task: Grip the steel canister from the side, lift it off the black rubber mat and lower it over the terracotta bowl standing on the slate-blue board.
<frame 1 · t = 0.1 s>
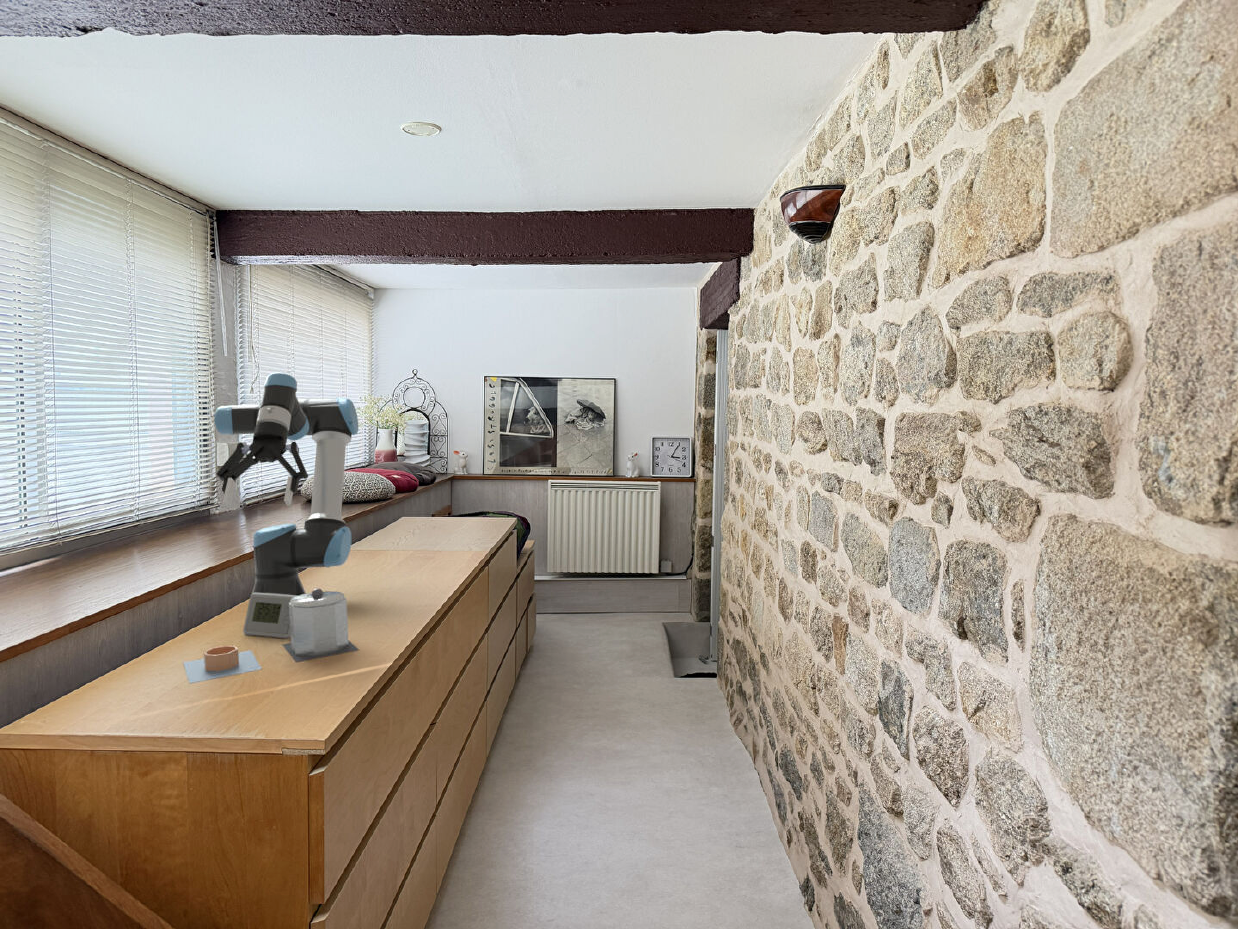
hand: (257, 504, 175), 36 cm above the table, tool tilted 35°, fingers open, 13 cm apart
terracotta bowl: (221, 665, 168), point 1 cm above the table, touching blue board
steel canister: (320, 647, 180), point 1 cm above the table, touching black mat
black mat: (320, 649, 180), on the table
digital clock: (274, 637, 192), on the table
blue board: (222, 668, 168), on the table
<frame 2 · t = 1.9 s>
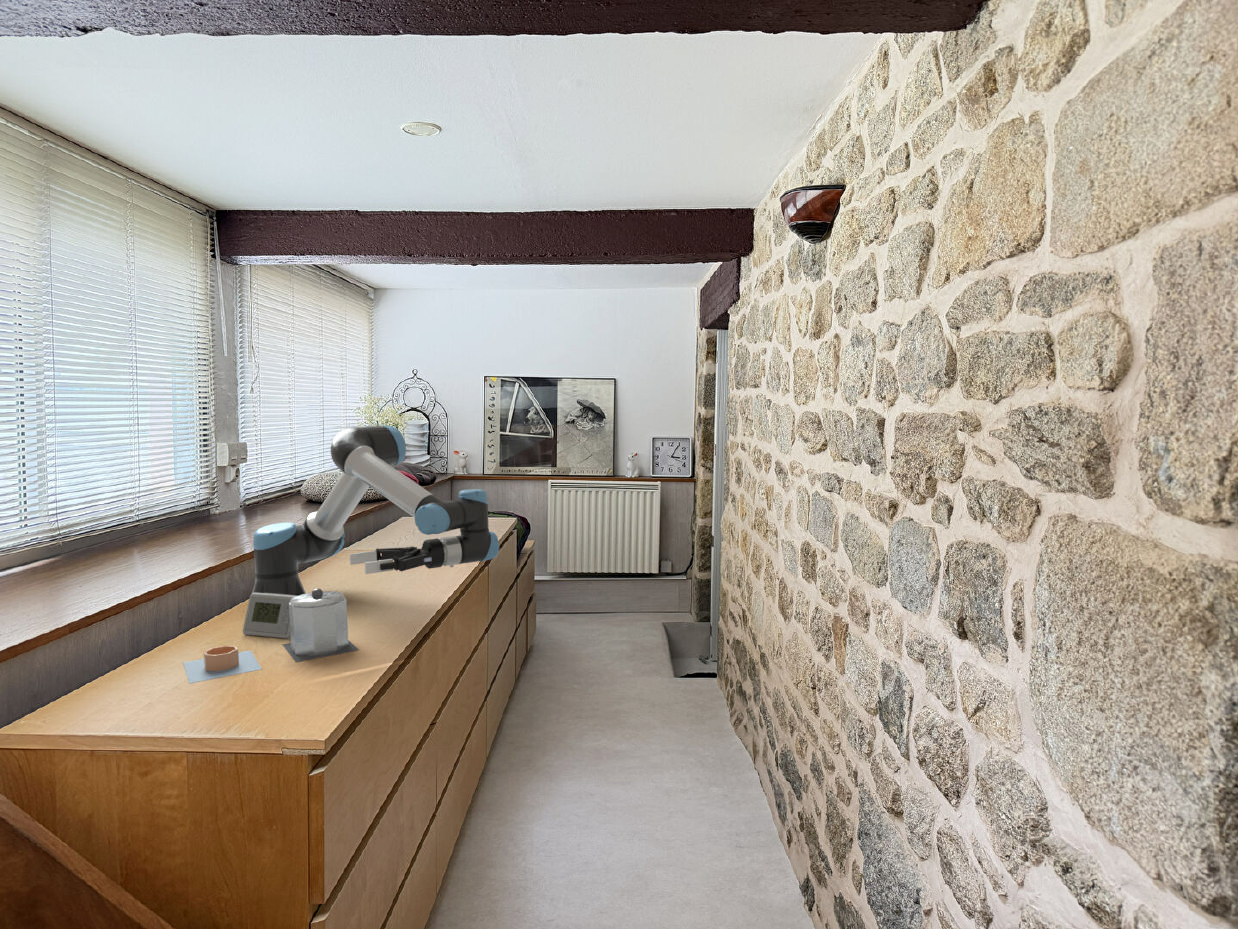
hand: (357, 563, 184), 20 cm above the table, tool horizontal, fingers open, 13 cm apart
nothing on the table moved.
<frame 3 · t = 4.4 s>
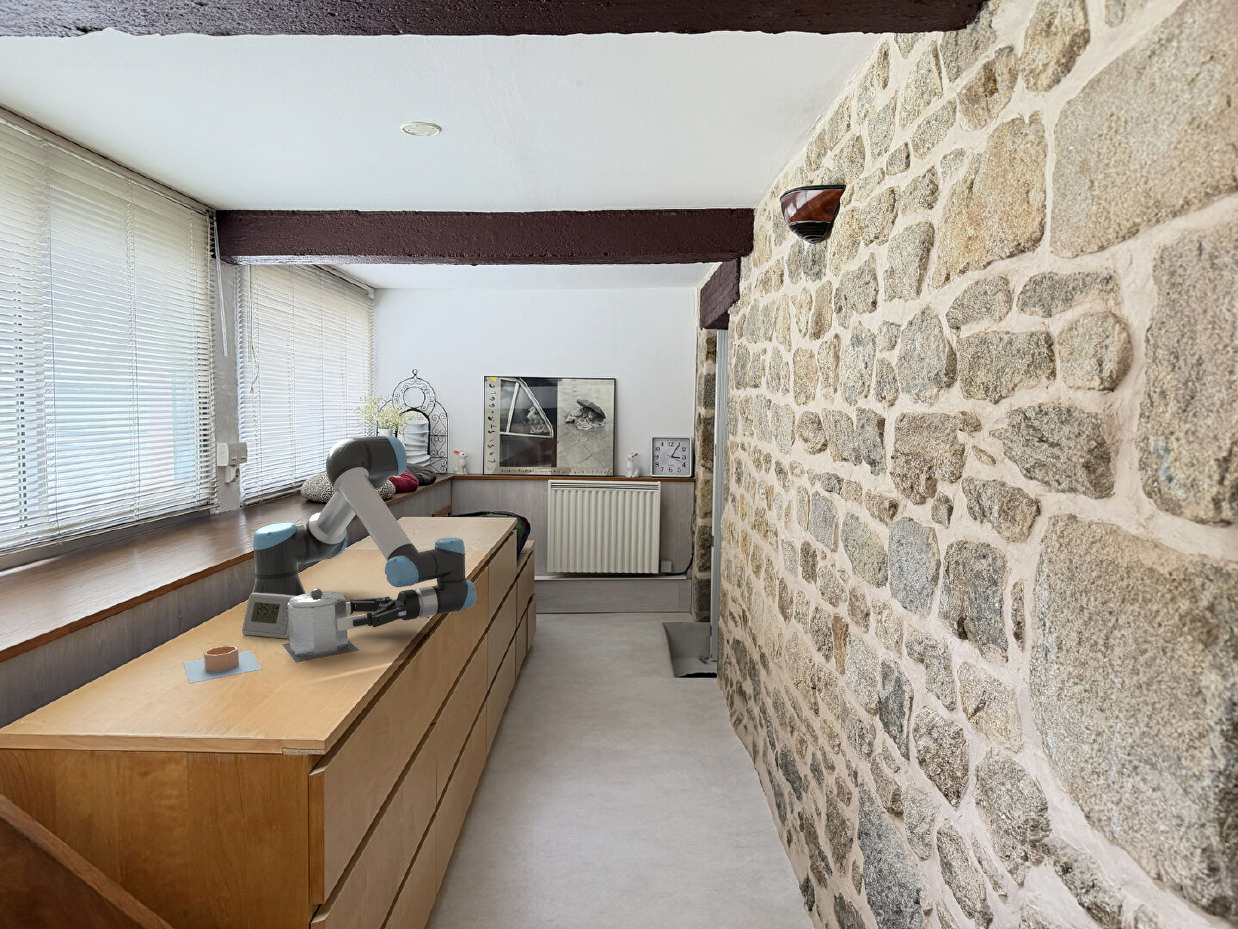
hand: (329, 618, 180), 7 cm above the table, tool horizontal, fingers open, 13 cm apart
steel canister: (319, 647, 180), point 1 cm above the table, touching black mat, gripper
everything else where it was.
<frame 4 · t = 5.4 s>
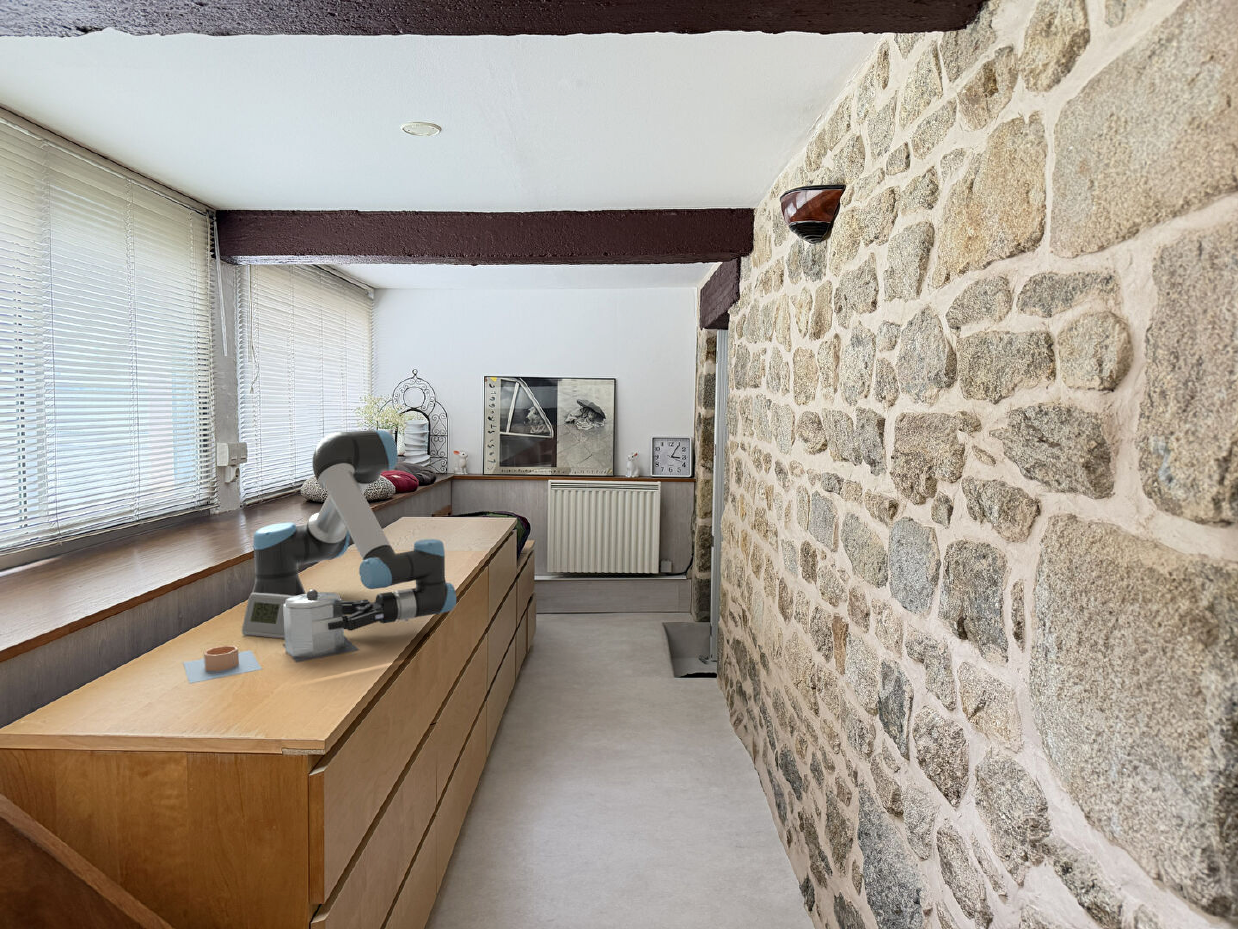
hand: (305, 621, 177), 7 cm above the table, tool horizontal, fingers open, 13 cm apart
steel canister: (315, 648, 179), point 1 cm above the table, touching gripper
everything else where it was.
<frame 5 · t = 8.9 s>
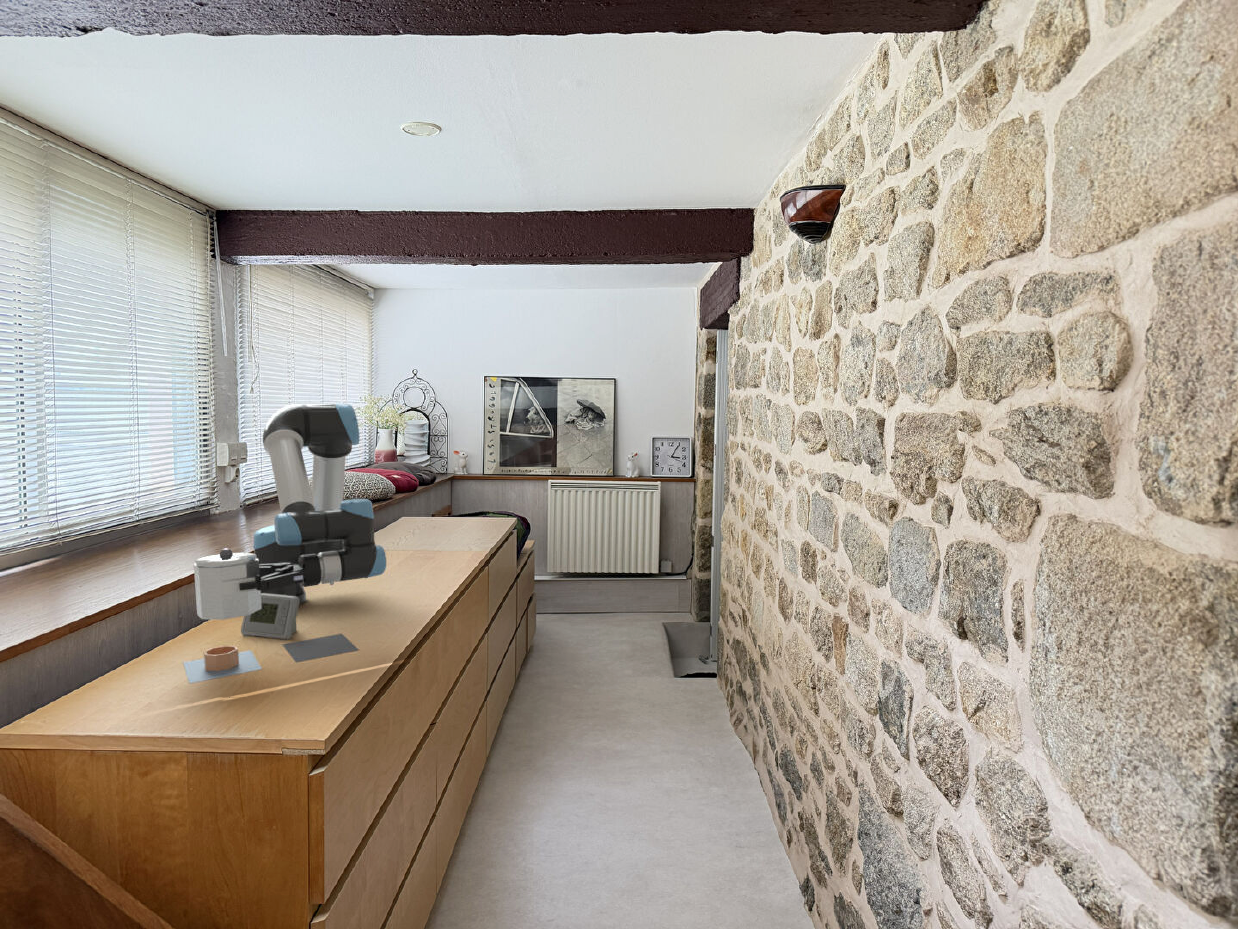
hand: (216, 582, 166), 20 cm above the table, tool horizontal, fingers closed on steel canister, 12 cm apart
steel canister: (229, 611, 167), point 13 cm above the table, touching gripper
everything else where it was.
when the fingers open (9 cm above the table, at t = 12.0 s): steel canister drops 1 cm, resting on blue board.
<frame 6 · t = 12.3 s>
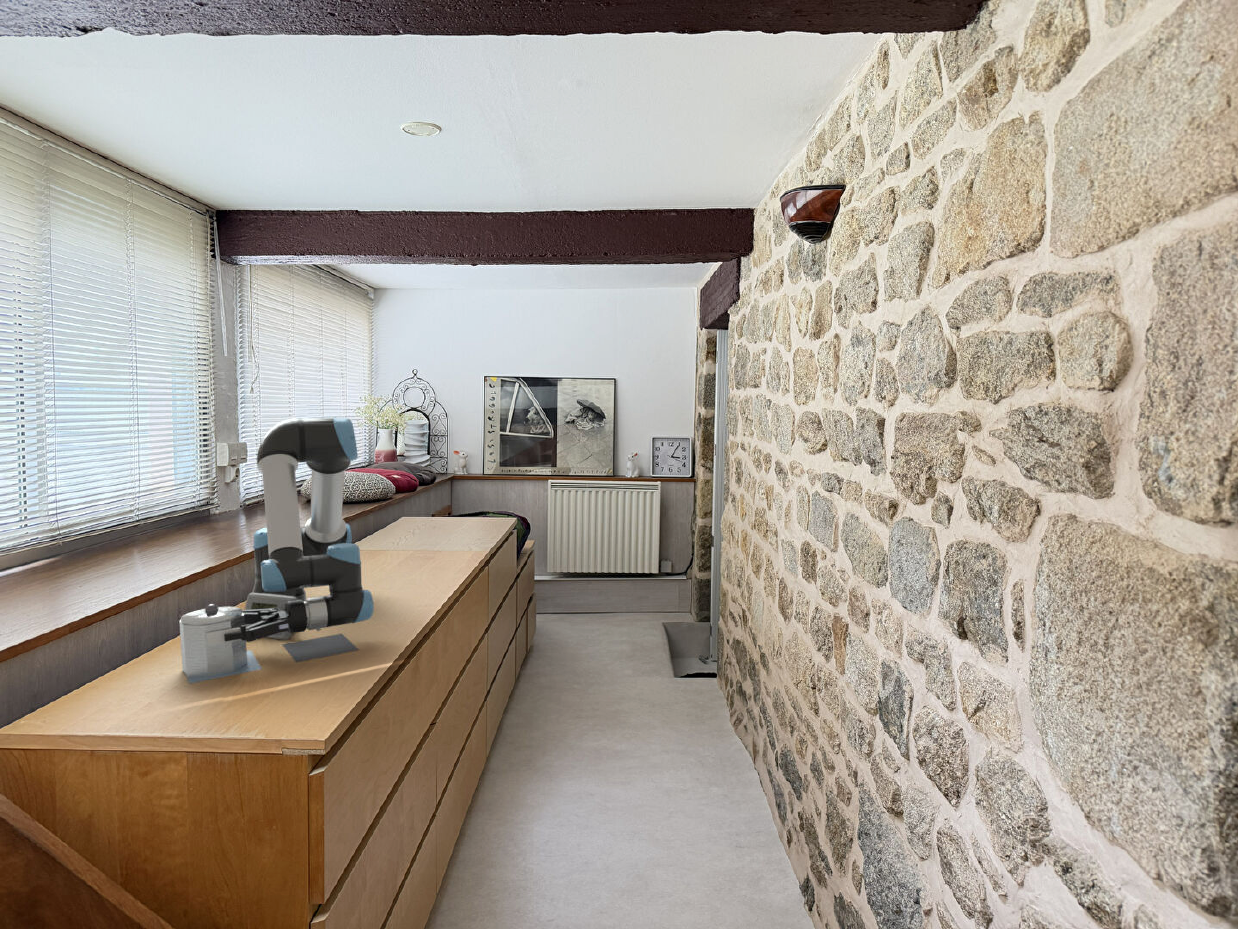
hand: (202, 631, 165), 9 cm above the table, tool horizontal, fingers open, 13 cm apart
steel canister: (215, 667, 167), point 1 cm above the table, touching blue board
everything else where it was.
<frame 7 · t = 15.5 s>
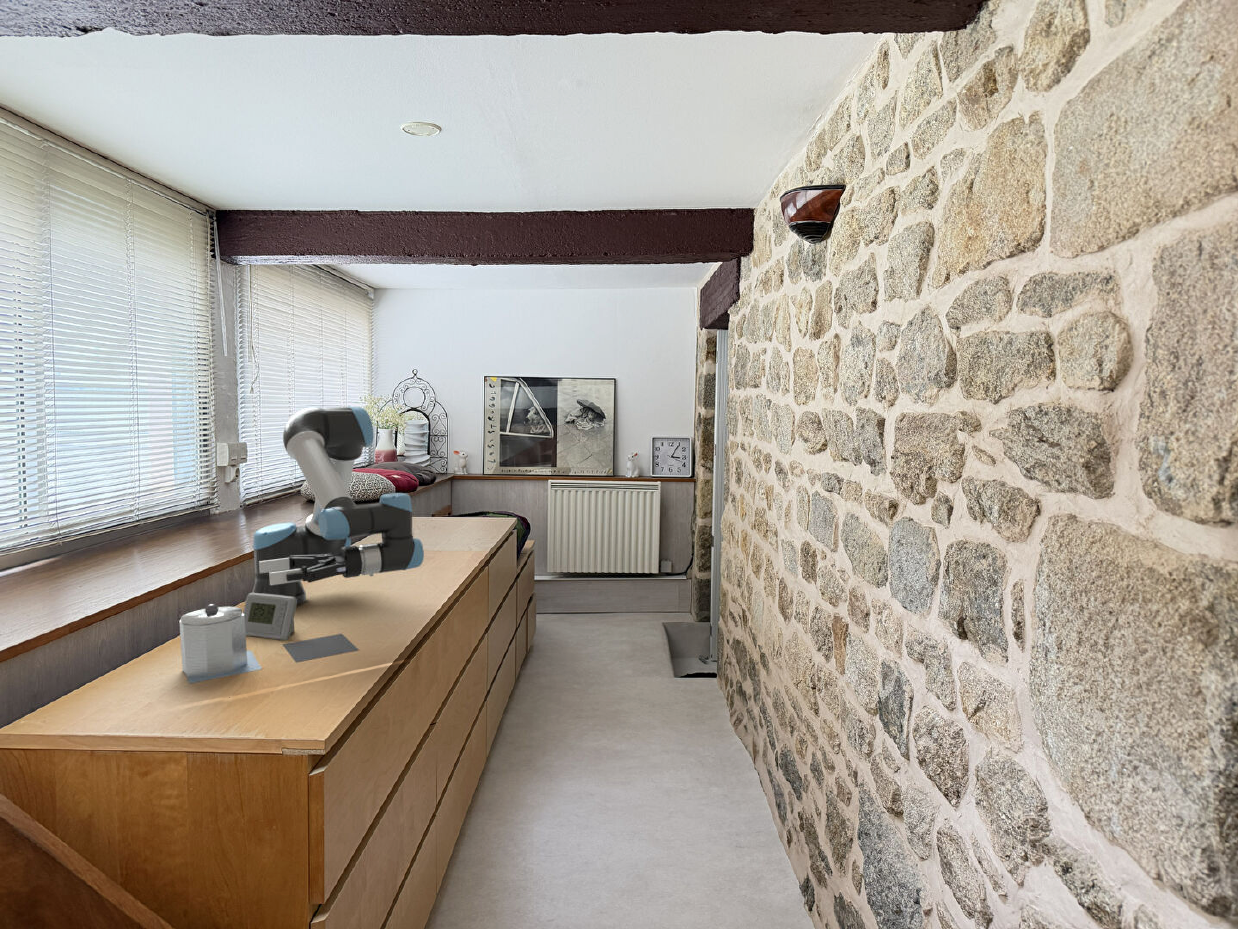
hand: (264, 573, 172), 20 cm above the table, tool horizontal, fingers open, 13 cm apart
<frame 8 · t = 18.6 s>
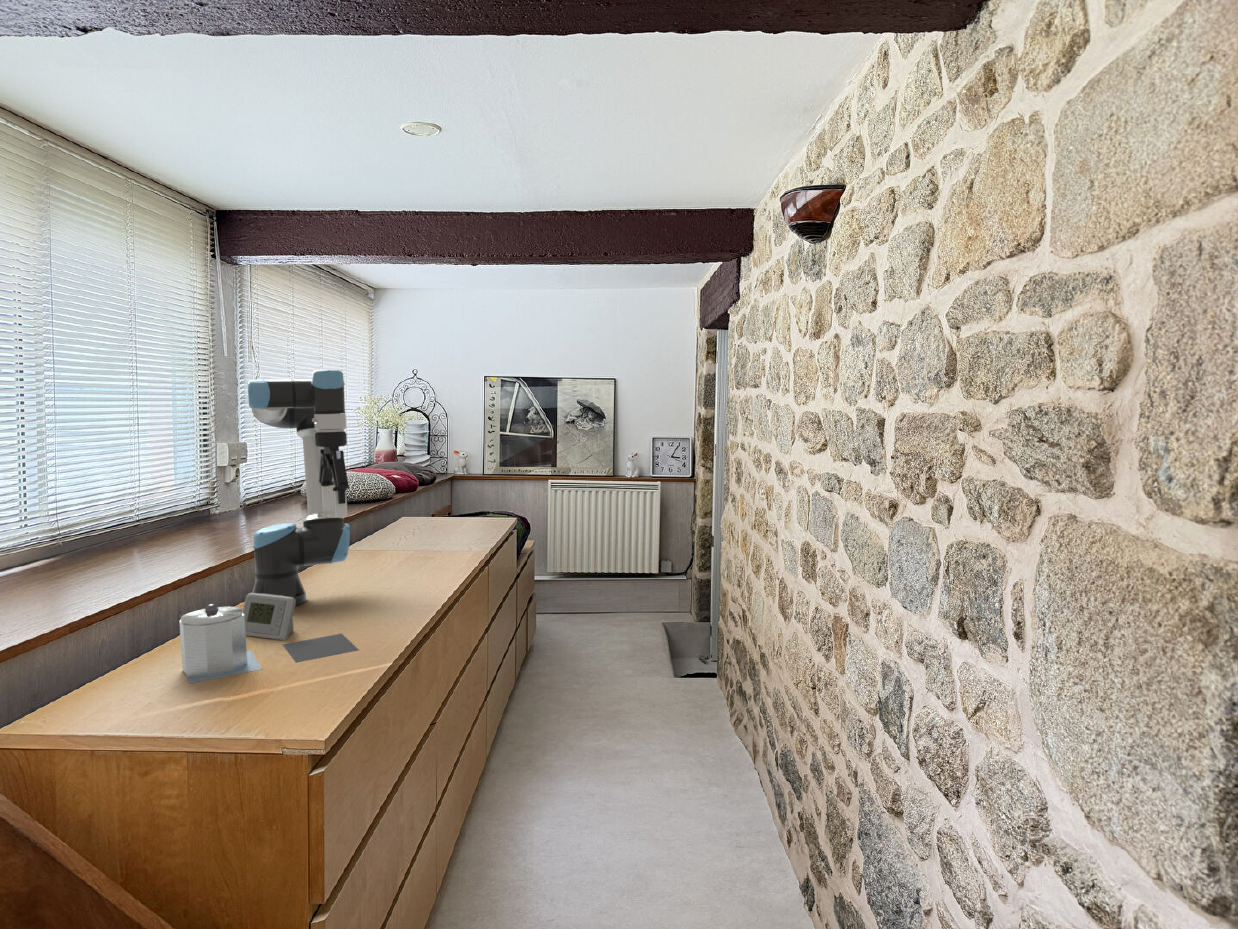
hand: (334, 513, 192), 31 cm above the table, tool pointing down, fingers open, 13 cm apart
at the end: steel canister 1.3 cm from the terracotta bowl (horizontally); steel canister point 0.6 cm above the table; steel canister tilted 0° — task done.
